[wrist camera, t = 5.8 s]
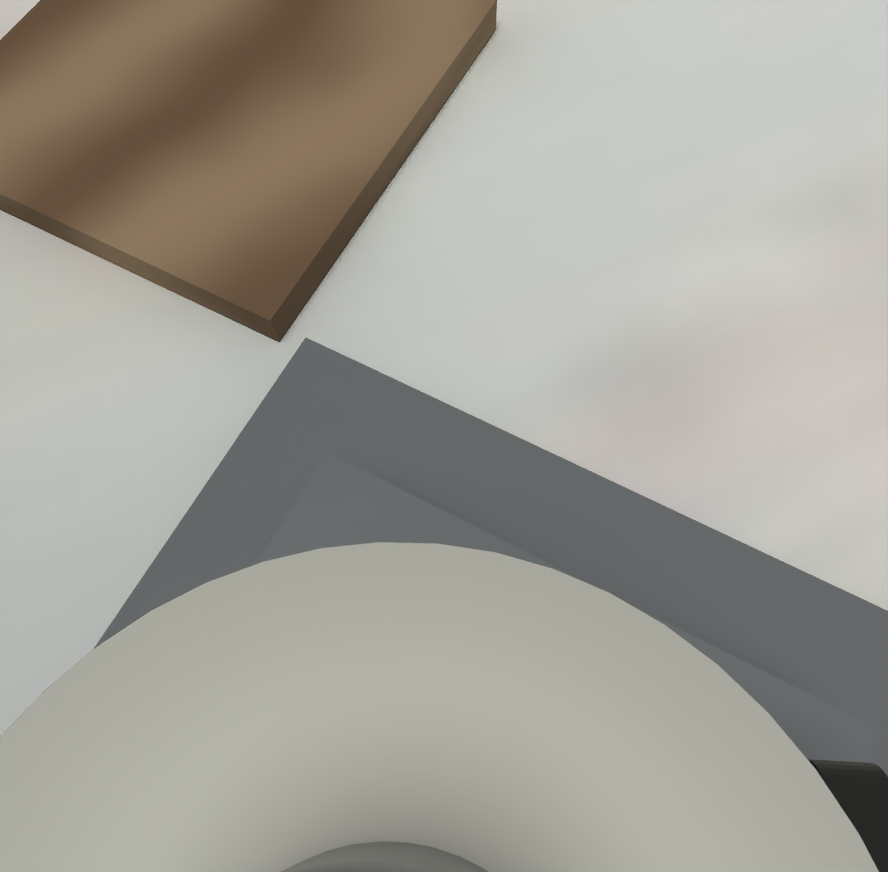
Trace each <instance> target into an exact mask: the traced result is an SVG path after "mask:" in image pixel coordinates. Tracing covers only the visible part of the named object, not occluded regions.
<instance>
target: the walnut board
mask: <svg viewBox="0 0 888 872" xmlns="http://www.w3.org/2000/svg"><path fill="white" fill-rule="evenodd" d="M496 9H497V0H40V1H39V2H38V3H37V4H36V5H35V6H34V7H33V8H32V9H31V10H30V11H29V12H28V13H27V14H26V15H25V16H24V17H23V18H22V19H21V20H20V21H19V22H18V23H17V24H16V25H15V26H14V27H13V28H12V29H11V30H10V31H9V32H8V33H7V34H6V35H5V36H4V37H3V38H2V39H1V40H0V209H1V210H3V211H5V212H7V213H9V214H11V215H13V216H15V217H17V218H20V219H22V220H24V221H26V222H28V223H30V224H32V225H34V226H36V227H38V228H41V229H43V230H45V231H47V232H49V233H51V234H53V235H55V236H57V237H60V238H62V239H64V240H66V241H68V242H70V243H72V244H74V245H76V246H78V247H81V248H83V249H85V250H87V251H89V252H91V253H93V254H95V255H97V256H100V257H102V258H104V259H106V260H108V261H110V262H112V263H114V264H116V265H118V266H121V267H123V268H125V269H127V270H129V271H131V272H133V273H135V274H137V275H140V276H142V277H144V278H146V279H148V280H150V281H152V282H154V283H156V284H158V285H161V286H163V287H165V288H167V289H169V290H171V291H173V292H175V293H177V294H179V295H182V296H184V297H186V298H188V299H190V300H192V301H194V302H196V303H198V304H201V305H203V306H205V307H207V308H209V309H211V310H213V311H215V312H217V313H219V314H222V315H224V316H226V317H228V318H230V319H232V320H234V321H236V322H238V323H241V324H243V325H245V326H247V327H249V328H251V329H253V330H255V331H257V332H259V333H262V334H264V335H266V336H268V337H270V338H272V339H274V340H276V341H278V342H279V341H280V340H281V338H282V337H283V336H284V334H285V333H286V331H287V330H288V328H289V327H290V325H291V324H292V323H293V321H294V320H295V318H296V317H297V315H298V314H299V313H300V311H301V310H302V308H303V307H304V305H305V304H306V302H307V301H308V300H309V298H310V297H311V295H312V294H313V292H314V291H315V289H316V288H317V287H318V285H319V284H320V282H321V281H322V279H323V278H324V276H325V275H326V274H327V272H328V271H329V269H330V268H331V266H332V265H333V263H334V262H335V261H336V259H337V258H338V256H339V255H340V253H341V252H342V251H343V249H344V248H345V246H346V245H347V243H348V242H349V240H350V239H351V238H352V236H353V235H354V233H355V232H356V230H357V229H358V227H359V226H360V225H361V223H362V222H363V220H364V219H365V217H366V216H367V214H368V213H369V212H370V210H371V209H372V207H373V206H374V204H375V203H376V201H377V200H378V199H379V197H380V196H381V194H382V193H383V191H384V190H385V188H386V187H387V186H388V184H389V183H390V181H391V180H392V178H393V177H394V176H395V174H396V173H397V171H398V170H399V168H400V167H401V165H402V164H403V163H404V161H405V160H406V158H407V157H408V155H409V154H410V152H411V151H412V150H413V148H414V147H415V145H416V144H417V142H418V141H419V139H420V138H421V137H422V135H423V134H424V132H425V131H426V129H427V128H428V126H429V125H430V124H431V122H432V121H433V119H434V118H435V116H436V115H437V114H438V112H439V111H440V109H441V108H442V106H443V105H444V103H445V102H446V101H447V99H448V98H449V96H450V95H451V93H452V92H453V90H454V89H455V88H456V86H457V85H458V83H459V82H460V80H461V79H462V77H463V76H464V75H465V73H466V72H467V70H468V69H469V67H470V66H471V64H472V63H473V62H474V60H475V59H476V57H477V56H478V54H479V53H480V52H481V50H482V49H483V47H484V46H485V44H486V43H487V41H488V40H489V39H490V37H491V36H492V34H493V33H494V31H495V30H496Z"/></svg>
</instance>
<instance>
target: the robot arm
mask: <svg viewBox="0 0 888 872" xmlns="http://www.w3.org/2000/svg"><path fill="white" fill-rule="evenodd" d="M808 761H809V762H810V763H811V764H812V765H813V767H814V768H815V769H816V770H817V772H818V773H819V775H820V776H821V778H822V779H823V781H824V782H825V784H826V785H827V787H828V788H829V790H830V791H831V793H832V794H833V796H834V797H835V799H836V800H837V802H838V803H839V805H840V806H841V808H842V809H843V811H844V812H845V814H846V815H847V817H848V818H849V820H850V821H851V823H852V824H853V826H854V827H855V829H856V830H857V832H858V833H859V835H860V837H861V839H862V841H863V842H864V844H865V846H866V848H867V850H868V852H869V854H870V856H871V858H872V860H873V862H874V863H875V865H876V867H877V869H878V871H879V872H888V777H887V775H886V774H885V772H884V771H883V770H882V769H881V768H880V767H879V766H878V765H876V764H874V763H865V762H847V761H830V760H812V759H808Z"/></svg>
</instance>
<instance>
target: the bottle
mask: <svg viewBox="0 0 888 872" xmlns="http://www.w3.org/2000/svg"><path fill="white" fill-rule="evenodd" d="M0 872H879V871H878V869H877V867H876V865H875V863H874V862H873V860H872V858H871V856H870V854H869V852H868V850H867V848H866V846H865V844H864V842H863V841H862V839H861V837H860V835H859V833H858V832H857V830H856V829H855V827H854V826H853V824H852V823H851V821H850V820H849V818H848V817H847V815H846V814H845V812H844V811H843V809H842V808H841V806H840V805H839V803H838V802H837V800H836V799H835V797H834V796H833V794H832V793H831V791H830V790H829V788H828V787H827V785H826V784H825V782H824V781H823V779H822V778H821V776H820V775H819V773H818V772H817V770H816V769H815V768H814V767H813V765H812V764H811V763H810V762H809V761H808V759H807V758H806V757H805V756H804V755H803V754H802V752H801V751H800V750H799V749H798V748H797V746H796V745H795V744H794V743H793V742H792V740H791V739H790V738H789V737H788V736H787V734H786V733H785V732H784V731H783V730H782V728H781V727H780V726H779V725H778V724H777V723H776V721H775V720H774V719H773V718H772V717H771V715H770V714H769V713H768V712H767V711H766V710H765V709H764V708H763V707H762V706H761V705H760V704H759V703H758V702H756V701H755V700H754V699H753V698H752V697H751V696H750V695H749V694H748V693H747V692H746V691H745V690H744V689H743V688H742V687H741V686H740V685H739V684H738V683H736V682H735V681H734V680H733V679H732V678H731V677H730V676H729V675H728V674H727V673H726V672H725V671H724V670H723V669H722V668H721V667H720V666H719V665H717V664H716V663H715V662H714V661H712V660H711V659H710V658H708V657H707V656H706V655H704V654H703V653H702V652H700V651H699V650H698V649H696V648H695V647H694V646H692V645H691V644H690V643H688V642H687V641H686V640H684V639H683V638H682V637H680V636H679V635H678V634H676V633H675V632H674V631H672V630H671V629H670V628H668V627H667V626H666V625H664V624H662V623H661V622H659V621H657V620H656V619H654V618H652V617H650V616H649V615H647V614H645V613H644V612H642V611H640V610H638V609H637V608H635V607H633V606H631V605H630V604H628V603H626V602H625V601H623V600H621V599H619V598H618V597H616V596H614V595H613V594H611V593H609V592H606V591H604V590H602V589H599V588H597V587H595V586H592V585H590V584H588V583H585V582H583V581H581V580H578V579H576V578H574V577H571V576H569V575H567V574H564V573H562V572H560V571H557V570H555V569H552V568H549V567H545V566H542V565H538V564H535V563H531V562H528V561H524V560H521V559H517V558H514V557H510V556H507V555H503V554H500V553H496V552H490V551H483V550H477V549H470V548H464V547H457V546H451V545H444V544H437V543H394V542H376V543H366V544H357V545H347V546H338V547H328V548H320V549H316V550H311V551H307V552H303V553H298V554H294V555H290V556H286V557H281V558H277V559H273V560H268V561H264V562H261V563H258V564H256V565H253V566H250V567H247V568H245V569H242V570H239V571H237V572H234V573H231V574H228V575H226V576H223V577H220V578H217V579H215V580H212V581H209V582H207V583H205V584H203V585H201V586H199V587H197V588H195V589H193V590H191V591H189V592H187V593H185V594H183V595H181V596H179V597H177V598H175V599H173V600H171V601H169V602H167V603H165V604H163V605H161V606H159V607H157V608H156V609H154V610H152V611H150V612H148V613H147V614H145V615H144V616H142V617H141V618H139V619H138V620H136V621H135V622H133V623H132V624H130V625H129V626H127V627H126V628H124V629H123V630H121V631H120V632H118V633H117V634H115V635H114V636H112V637H111V638H109V639H108V640H106V641H105V642H103V643H102V644H100V645H99V646H97V647H96V648H95V649H94V650H92V651H91V652H90V653H89V654H88V655H86V656H85V657H84V658H83V659H82V660H80V661H79V662H78V663H77V664H76V665H74V666H73V667H72V668H71V669H70V670H68V671H67V672H66V673H65V674H64V675H63V676H61V677H60V678H59V679H58V680H57V681H55V682H54V683H53V684H52V685H51V686H49V687H48V688H47V689H46V690H45V691H44V692H43V693H42V694H41V695H40V696H39V697H38V698H37V699H36V700H35V701H34V702H33V703H32V704H31V705H30V706H29V707H28V708H27V709H26V710H25V712H24V713H23V714H22V715H21V716H20V717H19V718H18V719H17V720H16V721H15V722H14V723H13V724H12V725H11V726H10V727H9V728H8V729H7V730H6V731H5V732H4V733H3V734H2V735H1V737H0Z"/></svg>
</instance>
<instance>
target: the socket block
mask: <svg viewBox="0 0 888 872" xmlns="http://www.w3.org/2000/svg"><path fill="white" fill-rule="evenodd" d="M376 542H394V543H437V544H444V545H451V546H457V547H464V548H470V549H477V550H483V551H490V552H496V553H500V554H503V555H507V556H510V557H514V558H517V559H521V560H524V561H528V562H531V563H535V564H538V565H542V566H545V567H549V568H552V569H555V570H557V571H560V572H562V573H564V574H567V575H569V576H571V577H574V578H576V579H578V580H581V581H583V582H585V583H588V584H590V585H592V586H595V587H597V588H599V589H602V590H604V591H606V592H609V593H611V594H613V595H614V596H616V597H618V598H619V599H621V600H623V601H625V602H626V603H628V604H630V605H631V606H633V607H635V608H637V609H638V610H640V611H642V612H644V613H645V614H647V615H649V616H650V617H652V618H654V619H656V620H657V621H659V622H661V623H662V624H664V625H666V626H667V627H668V628H670V629H671V630H672V631H674V632H675V633H676V634H678V635H679V636H680V637H682V638H683V639H684V640H686V641H687V642H688V643H690V644H691V645H692V646H694V647H695V648H696V649H698V650H699V651H700V652H702V653H703V654H704V655H706V656H707V657H708V658H710V659H711V660H712V661H714V662H715V663H716V664H717V665H719V666H720V667H721V668H722V669H723V670H724V671H725V672H726V673H727V674H728V675H729V676H730V677H731V678H732V679H733V680H734V681H735V682H736V683H738V684H739V685H740V686H741V687H742V688H743V689H744V690H745V691H746V692H747V693H748V694H749V695H750V696H751V697H752V698H753V699H754V700H755V701H756V702H758V703H759V704H760V705H761V706H762V707H763V708H764V709H765V710H766V711H767V712H768V713H769V714H770V715H771V717H772V718H773V719H774V720H775V721H776V723H777V724H778V725H779V726H780V727H781V728H782V730H783V731H784V732H785V733H786V734H787V736H788V737H789V738H790V739H791V740H792V742H793V743H794V744H795V745H796V746H797V748H798V749H799V750H800V751H801V752H802V754H803V755H804V756H805V757H806V758H807V759H812V760H830V761H847V762H865V763H874V764H876V765H878V766H879V767H880V768H881V769H882V770H883V771H884V772H885V774H886V775H887V777H888V611H887V610H884V609H882V608H880V607H878V606H876V605H874V604H872V603H869V602H867V601H865V600H863V599H861V598H859V597H857V596H855V595H852V594H850V593H848V592H846V591H844V590H842V589H840V588H838V587H835V586H833V585H831V584H829V583H827V582H825V581H823V580H821V579H818V578H816V577H814V576H812V575H810V574H808V573H806V572H804V571H801V570H799V569H797V568H795V567H793V566H791V565H789V564H787V563H784V562H782V561H780V560H778V559H776V558H774V557H772V556H769V555H767V554H765V553H763V552H761V551H759V550H757V549H755V548H752V547H750V546H748V545H746V544H744V543H742V542H740V541H738V540H735V539H733V538H731V537H729V536H727V535H725V534H723V533H721V532H718V531H716V530H714V529H712V528H710V527H708V526H706V525H704V524H701V523H699V522H697V521H695V520H693V519H691V518H689V517H687V516H684V515H682V514H680V513H678V512H676V511H674V510H672V509H669V508H667V507H665V506H663V505H661V504H659V503H657V502H655V501H652V500H650V499H648V498H646V497H644V496H642V495H640V494H638V493H635V492H633V491H631V490H629V489H627V488H625V487H623V486H621V485H618V484H616V483H614V482H612V481H610V480H608V479H606V478H604V477H601V476H599V475H597V474H595V473H593V472H591V471H589V470H587V469H584V468H582V467H580V466H578V465H576V464H574V463H572V462H569V461H567V460H565V459H563V458H561V457H559V456H557V455H555V454H552V453H550V452H548V451H546V450H544V449H542V448H540V447H538V446H535V445H533V444H531V443H529V442H527V441H525V440H523V439H521V438H518V437H516V436H514V435H512V434H510V433H508V432H506V431H504V430H501V429H499V428H497V427H495V426H493V425H491V424H489V423H487V422H484V421H482V420H480V419H478V418H476V417H474V416H472V415H469V414H467V413H465V412H463V411H461V410H459V409H457V408H455V407H452V406H450V405H448V404H446V403H444V402H442V401H440V400H438V399H435V398H433V397H431V396H429V395H427V394H425V393H423V392H421V391H418V390H416V389H414V388H412V387H410V386H408V385H406V384H404V383H401V382H399V381H397V380H395V379H393V378H391V377H389V376H387V375H384V374H382V373H380V372H378V371H376V370H374V369H372V368H370V367H367V366H365V365H363V364H361V363H359V362H357V361H355V360H352V359H350V358H348V357H346V356H344V355H342V354H340V353H338V352H335V351H333V350H331V349H329V348H327V347H325V346H323V345H321V344H318V343H316V342H314V341H312V340H310V339H308V338H305V339H304V341H303V342H302V344H301V345H300V347H299V348H298V350H297V351H296V353H295V354H294V356H293V357H292V358H291V360H290V361H289V363H288V364H287V366H286V367H285V369H284V370H283V372H282V373H281V375H280V376H279V378H278V379H277V380H276V382H275V383H274V385H273V386H272V388H271V389H270V391H269V392H268V394H267V395H266V397H265V398H264V400H263V401H262V403H261V404H260V405H259V407H258V408H257V410H256V411H255V413H254V414H253V416H252V417H251V419H250V420H249V422H248V423H247V425H246V426H245V427H244V429H243V430H242V432H241V433H240V435H239V436H238V438H237V439H236V441H235V442H234V444H233V445H232V447H231V448H230V450H229V451H228V452H227V454H226V455H225V457H224V458H223V460H222V461H221V463H220V464H219V466H218V467H217V469H216V470H215V472H214V473H213V474H212V476H211V477H210V479H209V480H208V482H207V483H206V485H205V486H204V488H203V489H202V491H201V492H200V494H199V495H198V497H197V498H196V499H195V501H194V502H193V504H192V505H191V507H190V508H189V510H188V511H187V513H186V514H185V516H184V517H183V519H182V520H181V521H180V523H179V524H178V526H177V527H176V529H175V530H174V532H173V533H172V535H171V536H170V538H169V539H168V541H167V542H166V544H165V545H164V546H163V548H162V549H161V551H160V552H159V554H158V555H157V557H156V558H155V560H154V561H153V563H152V564H151V566H150V567H149V568H148V570H147V571H146V573H145V574H144V576H143V577H142V579H141V580H140V582H139V583H138V585H137V586H136V588H135V589H134V591H133V592H132V593H131V595H130V596H129V598H128V599H127V601H126V602H125V604H124V605H123V607H122V608H121V610H120V611H119V613H118V614H117V615H116V617H115V618H114V620H113V621H112V623H111V624H110V626H109V627H108V629H107V630H106V632H105V633H104V635H103V636H102V638H101V639H100V640H99V642H98V643H97V645H96V646H95V648H96V647H97V646H99V645H100V644H102V643H103V642H105V641H106V640H108V639H109V638H111V637H112V636H114V635H115V634H117V633H118V632H120V631H121V630H123V629H124V628H126V627H127V626H129V625H130V624H132V623H133V622H135V621H136V620H138V619H139V618H141V617H142V616H144V615H145V614H147V613H148V612H150V611H152V610H154V609H156V608H157V607H159V606H161V605H163V604H165V603H167V602H169V601H171V600H173V599H175V598H177V597H179V596H181V595H183V594H185V593H187V592H189V591H191V590H193V589H195V588H197V587H199V586H201V585H203V584H205V583H207V582H209V581H212V580H215V579H217V578H220V577H223V576H226V575H228V574H231V573H234V572H237V571H239V570H242V569H245V568H247V567H250V566H253V565H256V564H258V563H261V562H264V561H268V560H273V559H277V558H281V557H286V556H290V555H294V554H298V553H303V552H307V551H311V550H316V549H320V548H328V547H338V546H347V545H357V544H366V543H376ZM95 648H94V649H95ZM94 649H93V650H94Z"/></svg>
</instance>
